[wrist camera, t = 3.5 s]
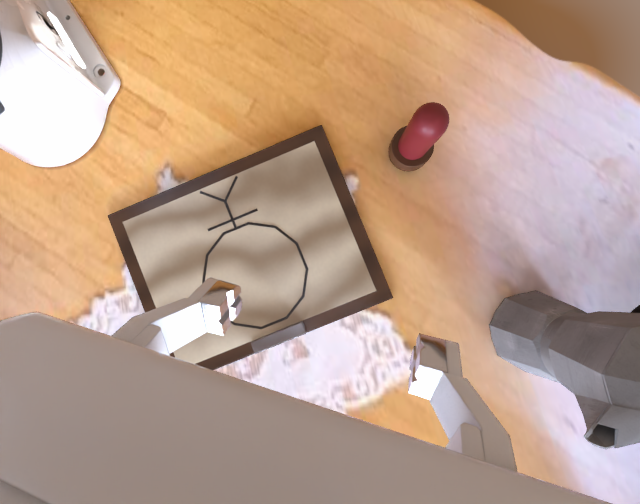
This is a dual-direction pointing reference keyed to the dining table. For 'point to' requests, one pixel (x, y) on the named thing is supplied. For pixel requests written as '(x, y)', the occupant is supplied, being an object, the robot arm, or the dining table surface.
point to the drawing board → (256, 247)
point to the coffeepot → (578, 359)
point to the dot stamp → (418, 137)
